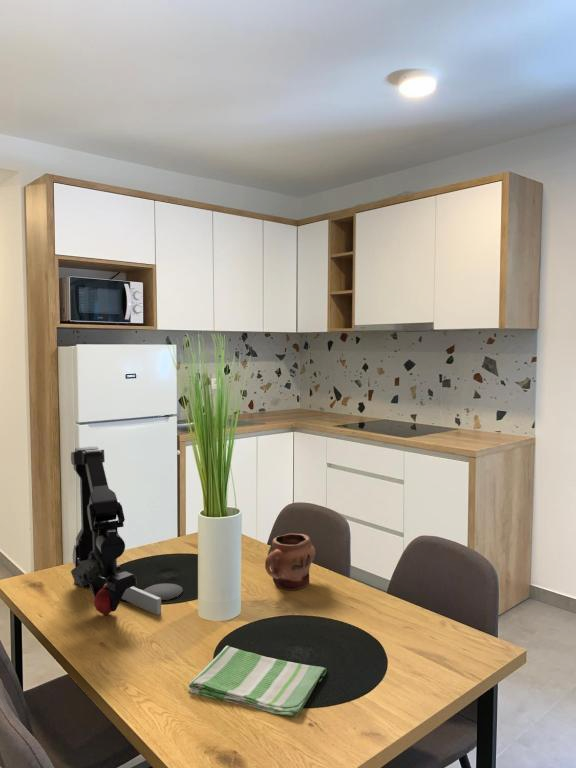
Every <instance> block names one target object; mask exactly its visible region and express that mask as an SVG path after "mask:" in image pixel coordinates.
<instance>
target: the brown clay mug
mask: <svg viewBox="0 0 576 768" xmlns="http://www.w3.org/2000/svg"><path fill="white" fill-rule="evenodd" d="M315 556H316V549H315V547H314V545H313V544H312V541H311V538H310V536H309V535H306V534H305V533H304V534H303V533H287V534H283V535H278V536H276V537H274V538H273V539H272V542H271V545H270V546H269V550H268V552H267V557H266V558H265V562H264V564H265V565H264V567H265V571H266V573H267V575H269V576H270V577H272V582H273V584H274V585H275V586H276V587H277V588H280V589H284V590H290V591H292V590H293V591H294V590H298V589H302V588H304V587H306V586H307V585H308V584H309V583H310V567H311V565H312V563H313V561H314V560H315V558H316V557H315Z"/></svg>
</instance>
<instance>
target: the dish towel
mask: <svg viewBox="0 0 576 768" xmlns="http://www.w3.org/2000/svg"><path fill="white" fill-rule="evenodd" d="M326 673H327V667H323V666H317V665H310V664H303V663H298V662H293V661H287V660H283V659H278V658H273V657H268V656H264V655H261V654H257V653H254V652H250V651H245V650H242V649H240V648H236V647H232V646H229V645H226V646H225V647H224V648H223V649H222V650H221V651H220V652H219V653H218V654H217V655H216V656H215V658H213V660H211V661H210V662H209V664H207V665H206V666H205V667H204V668H203V669H202V670H201V671H200V672H199V673H198V674H197V675H196V676H195V677H194V678H193V679H192V680H191V681H190V682H189V683H188V688H189V690H188V692H187V693H188V694H195V695H198V696H203V697H206V698H211V699H215V700H220V701H223V702H230V703H233V704H236V705H239V706H242V707H247V708H253V709H256V710H260V711H264V712H268V713H271V714H273V715H275V714H276V715H283V716H292V717H298V715H299V714H300V713H301V711H302V710H303V708H304V706H305V705H306V703H307V701H308V700H309V698H310V697H311V694H312V693H313V691H314V689H315V687H316V686H317V683H321V681H322V680H323V677H324V676H325V675H326ZM320 677H321V678H320Z"/></svg>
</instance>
